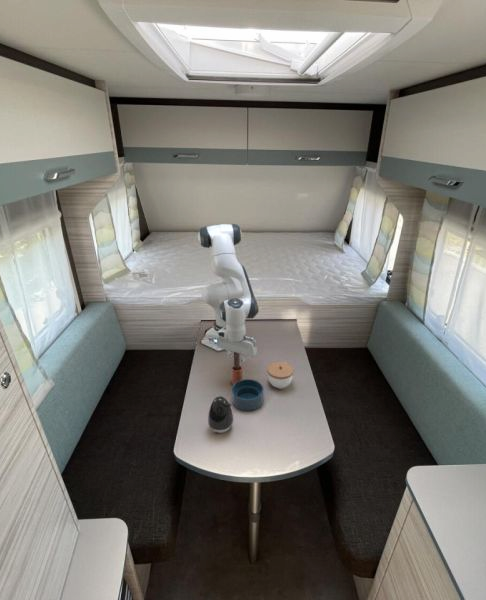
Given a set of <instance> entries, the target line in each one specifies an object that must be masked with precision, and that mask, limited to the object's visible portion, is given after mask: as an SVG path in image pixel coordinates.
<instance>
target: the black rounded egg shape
mask: <svg viewBox="0 0 486 600" xmlns="http://www.w3.org/2000/svg"><path fill="white" fill-rule="evenodd" d="M231 406H232V404H231V403H229V401H228V400H227V399H226V398H225V397H224V396H221V395H220V396H216V397H215V398H214V399H213V400H212V402H211V404H210V406H209V409H208V415H207V423H208V426H209V428H210V429H211V430H212V431H213V432H215V433H219V434H221V433H226V432H227V431H228V430H230V428H231V427H232V424H233V423H234V415H233V411H232V408H231Z"/></svg>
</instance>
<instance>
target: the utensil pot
mask: <svg viewBox="0 0 486 600" xmlns="http://www.w3.org/2000/svg"><path fill="white" fill-rule="evenodd" d="M243 373H244V372H243V366H242V365H241V364H240V370H234V365H232V366H231V383H232V386H233V385H234V384H235V383H236V382H238V381H240V380H243V379H244V378H243V376H244V374H243Z"/></svg>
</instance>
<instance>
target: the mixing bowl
mask: <svg viewBox="0 0 486 600" xmlns="http://www.w3.org/2000/svg"><path fill="white" fill-rule="evenodd" d="M264 393H265V389H264V385H263V384H262V383H261V382H259V381H258V380H255V379H252V378H243V380H240V381H238V382H236V383H235V384H234V385H233V384H232V387H231V402H232V404H233V406H234V407H235V408H236V409H238V410H240V411H243V412H244V411H245V412H251V411H255V410H258V409H259V408H261V407H262V405H263V404H264V398H265V397H264Z"/></svg>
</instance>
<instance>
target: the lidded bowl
mask: <svg viewBox="0 0 486 600" xmlns="http://www.w3.org/2000/svg"><path fill="white" fill-rule="evenodd" d="M266 372H267V379H268V382H269V383H270V385H272V387H274V388H276V389H278V390H283V389H286V388H287V387H289V385H290V384H291V383H292V381H293V377H294V367H293V366H292V364H290V363H289V362H285V361H274V362H271V363H270V364H269V365H268V366H267V371H266Z"/></svg>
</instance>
